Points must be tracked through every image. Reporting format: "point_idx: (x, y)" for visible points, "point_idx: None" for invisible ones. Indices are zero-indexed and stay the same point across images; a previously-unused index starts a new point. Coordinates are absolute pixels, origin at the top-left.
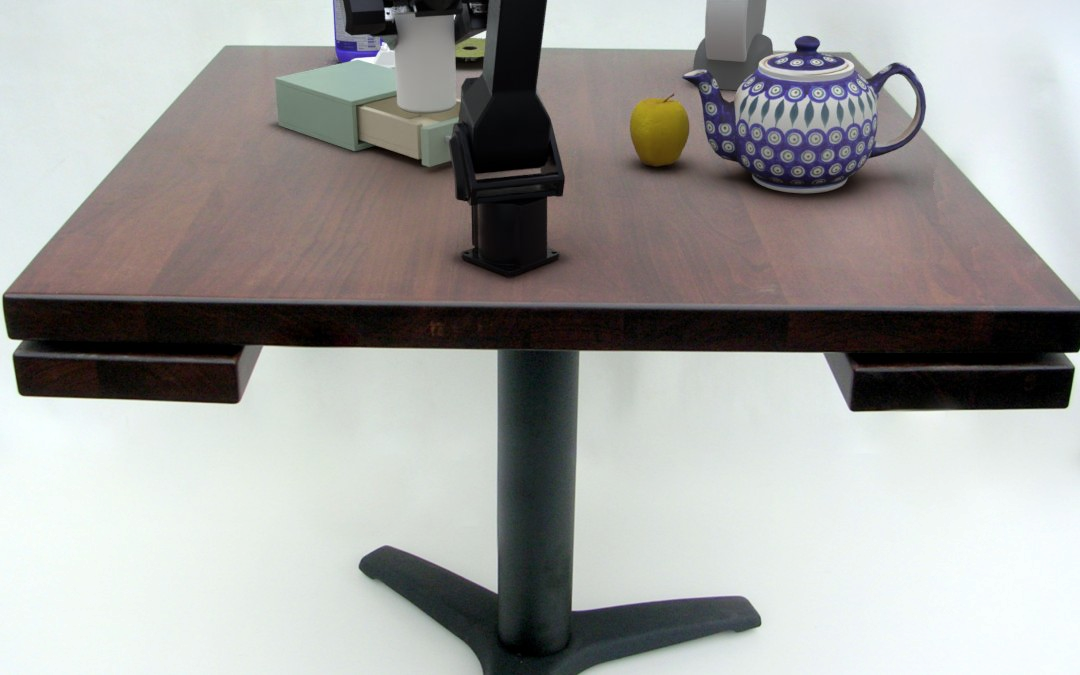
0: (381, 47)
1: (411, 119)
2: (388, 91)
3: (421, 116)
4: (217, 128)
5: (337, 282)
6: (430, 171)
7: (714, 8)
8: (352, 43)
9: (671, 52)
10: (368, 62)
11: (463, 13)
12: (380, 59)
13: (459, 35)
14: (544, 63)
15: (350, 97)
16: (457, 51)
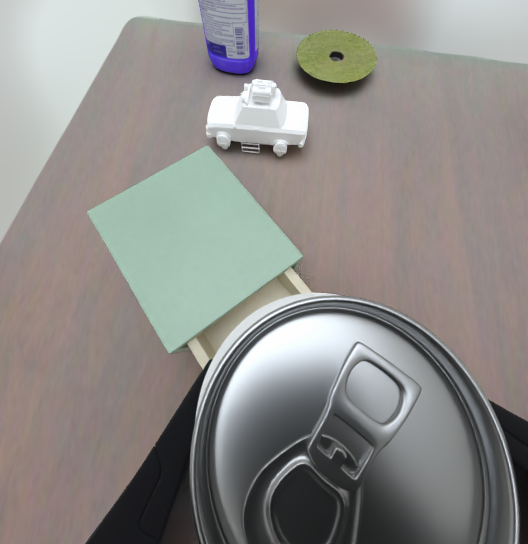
0: (242, 99)
1: (265, 289)
2: (231, 304)
3: (277, 278)
4: (64, 239)
5: None
6: None
7: None
8: (221, 47)
9: (523, 68)
10: (229, 114)
11: (524, 535)
12: (241, 117)
13: None
14: (403, 85)
15: (170, 331)
16: (324, 64)
